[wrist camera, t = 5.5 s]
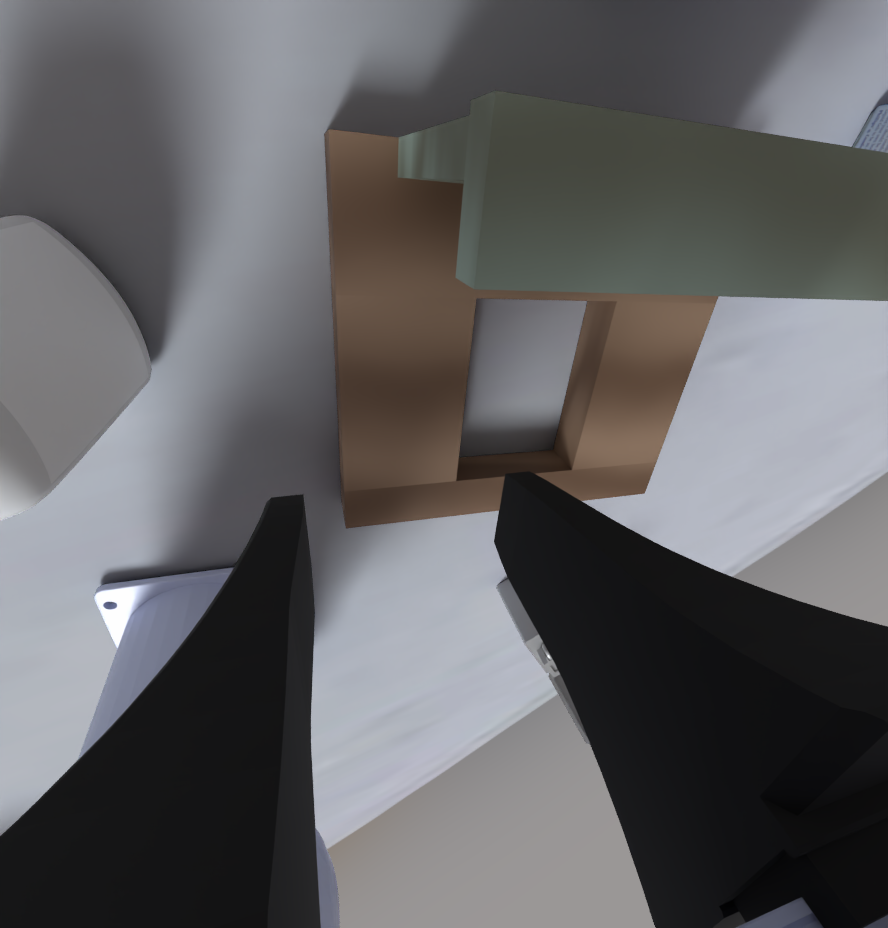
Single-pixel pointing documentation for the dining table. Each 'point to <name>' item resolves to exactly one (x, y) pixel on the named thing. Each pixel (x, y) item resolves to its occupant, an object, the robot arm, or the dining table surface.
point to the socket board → (435, 353)
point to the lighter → (537, 648)
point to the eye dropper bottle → (57, 360)
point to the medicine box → (875, 131)
